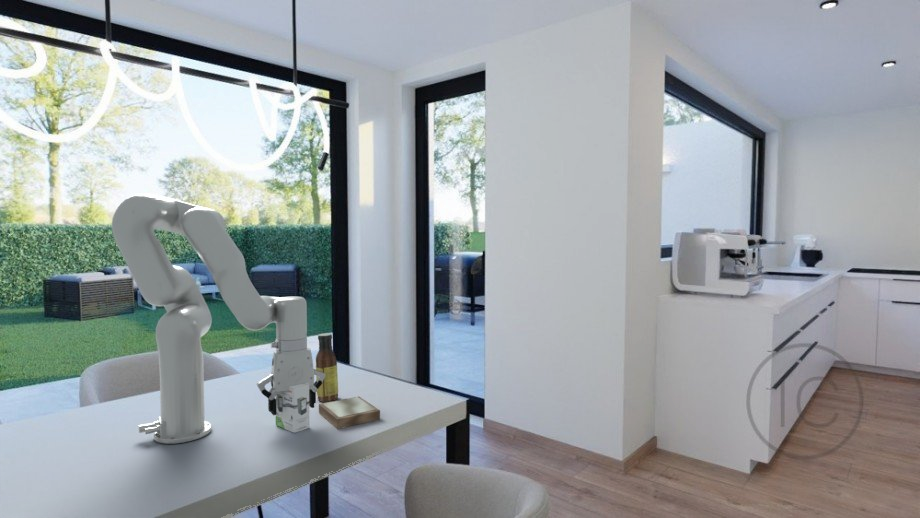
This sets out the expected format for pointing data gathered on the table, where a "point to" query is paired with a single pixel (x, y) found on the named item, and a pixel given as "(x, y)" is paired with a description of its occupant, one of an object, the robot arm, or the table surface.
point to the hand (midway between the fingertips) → (292, 409)
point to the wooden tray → (349, 412)
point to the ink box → (293, 408)
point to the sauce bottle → (327, 369)
